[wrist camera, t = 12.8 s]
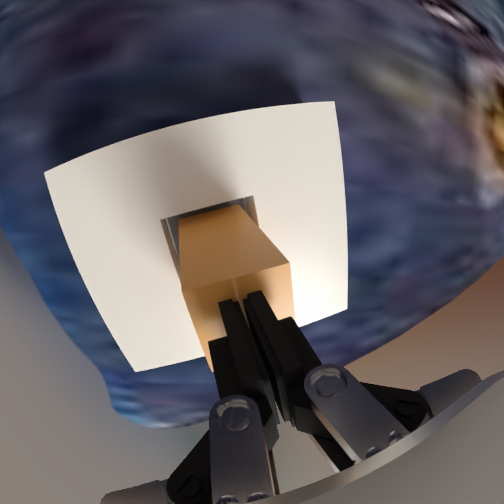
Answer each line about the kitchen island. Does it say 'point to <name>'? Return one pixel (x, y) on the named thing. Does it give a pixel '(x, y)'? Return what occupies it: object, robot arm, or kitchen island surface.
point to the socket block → (200, 201)
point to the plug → (229, 269)
